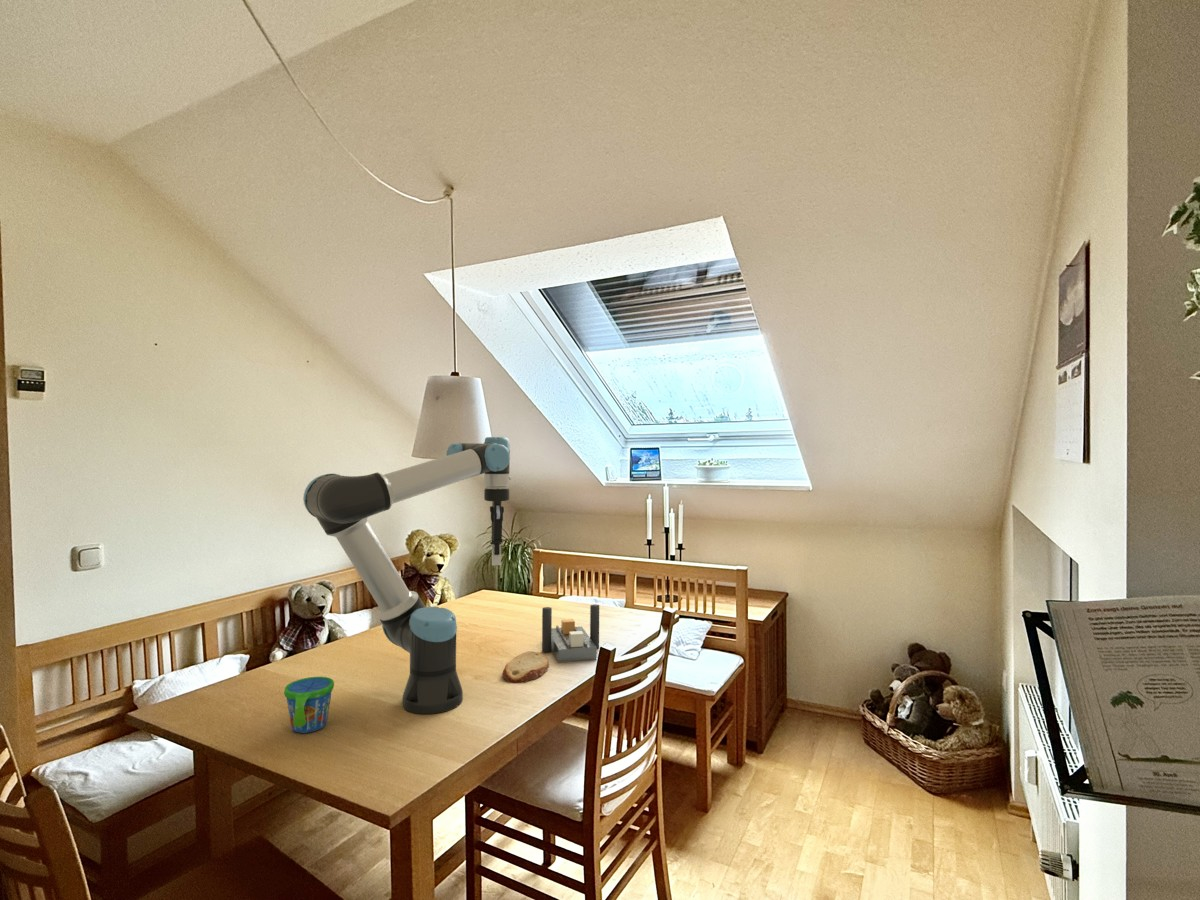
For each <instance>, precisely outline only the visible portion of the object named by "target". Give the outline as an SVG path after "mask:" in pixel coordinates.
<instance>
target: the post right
mask: <svg viewBox="0 0 1200 900" xmlns="http://www.w3.org/2000/svg"><path fill="white" fill-rule="evenodd" d="M589 607H590V609H589V610H590V611H589V612H590V613H589V616H590V617H589V618H590V619H589V637H590V639H591V640H592V641H593V643H594V644H595V645H596V647H597V650H598V649H600V604H590V605H589Z"/></svg>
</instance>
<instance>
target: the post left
mask: <svg viewBox="0 0 1200 900" xmlns="http://www.w3.org/2000/svg"><path fill="white" fill-rule="evenodd" d="M541 611H542V612H541V613H542V614H541V615H542V619H541V621H542V622H541V624H542V625H541V626H542V627H541V628H542V629H541V630H542V631H541V635H542V636H541V653H543V652H544V654H549V652H550V653H551V652H552V648H551V628H552V622H553V621H552V619H553V618H552V615H553V614H552V607H549V606H545V607H542V610H541Z"/></svg>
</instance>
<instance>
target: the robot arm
mask: <svg viewBox="0 0 1200 900" xmlns="http://www.w3.org/2000/svg"><path fill="white" fill-rule="evenodd" d="M510 445H511V444H510V440H509V438H507V436H505V437H504V436H502V437H501V436H499V437H498V436H489V437H488V436H487V437H484V442H483V443H475V442H473V443H470V442H469V443H468V442H467V443H465V442H459V443H451V444H449V446H448V447H447V449H446V455H445V456H442V457H439V458H436V459H435V458H434V459H432V460H427V461H424V462H421V463H419V464H418V463H417V464H415V465H412V466H409V467H405V468H402V469H399V470H396V471H392V472H389V473H385V474H382V473H380V472H374V473H371V474H366V475H359V476H354V475H353V476H350V475H340V474H337V473H327V474H322V475H319V476H317V477H315V478H313V479H312V480H311V481H310V482H309V483H308V484H307V486H305V487H306V488H305V489H304V493H303V505H304V507H305V509H306V510H307V512H308V513H309V514H310V516H312V517H314V518H316V520H317V521H318V524H320V526H321V528H322V529H323V531H324V533H325V534H326V535H327V536H330V537H335V538H336V540H337V541H338V543H339V545H340V546H341V548H342V549H343V551H344V553H345V555H346V556H347V557H348V559H349V560H350V562H351V564H352V565H353V567H354V569H355V571H356V572H357V573H358V575H359V577H360V578H361V580H362V582H363V583H364V585H365V586H366V588H367V590H368V591H369V593H370V595H371V596H372V598H373V600H374V601H375V603H376V604H377V606H378V608H379V611H378V615H377V617H378V619H379V621H380V622H381V625H382V630H383V633H384V636H385V637H386V638H387V640H389V641H390V643H392V645H393V644H394V645H395V646H397V647H399V648H401V649H403V650H404V651H406V652H407V653H409V676H408V678H407V682H406V685H405V688H404V691H403V694H402V703H401V705H402V708H403V710H405V711H406V712H409V713H413V714H418V715H431V714H439V713H444V712H447V711H451V710H452V709H455V708H456V707H458V706H460V705H461V704H462V702H463V699H464V697H463V696H464V695H463V694H464V693H463V692H464V691H463V688H462V684H461V682H460V678H459V674H458V672H457V632H458V626H457V618H456V615H455V613H454V612H453V611H452V610H451V609H448V608H445V607H439V606H425V604H424V602H423V600H422V598H421V597H420V595H419V593H418V592H417V591H413V590H410V589H408V587H407V585H406V583H405V581H404V580H403V577H401V575H400V573H399V572H398V570H397V568H396V566H395V564H394V563H393V561H392V559H391V558H390V556H389V555H388V553H387V551H386V549H385V548H384V546H383V544H382V543H381V540H380V539H379V537H378V536H377V534H376V532H375V531H374V529H373V526H371V524H370V522H369V520H368V518H369V517H372V516H374V515H377V514H380V513H382V512H385V511H388V510H390V509H391V508H392V506H393V504H397V503H400V502H403V501H404V500H405V501H406V500H409V499H410V498H414V497H417V496H420V495H423V494H425V493H429V492H431V491H435V490H437V489H440V488H444V487H447V486H449V485H452V484H453V485H454V484H456V483H459V482H461V481H464V480H468V479H470V478H473V477H476V476H477V477H478V476H479V475H484V476H483V478H484V479H483V481H484V482H483V484H484V485H483V486H484V487H485V488H484V493H483V494H484V497H483V498H484V501H486V502H492V504H491V506H489V512H490V521H491V536H490V537H491V541H490V542H489V545H491V566H493V567H494V566H502V543H504V541H503V540H502V539H503V521H504V512H505V511H504V509H505V507H504V506H502V502H506V501H509V500H510V488H508V487H509V486H510V480H512V476H510V462H511V461H510V460H511V449H510V448H511V446H510Z"/></svg>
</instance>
